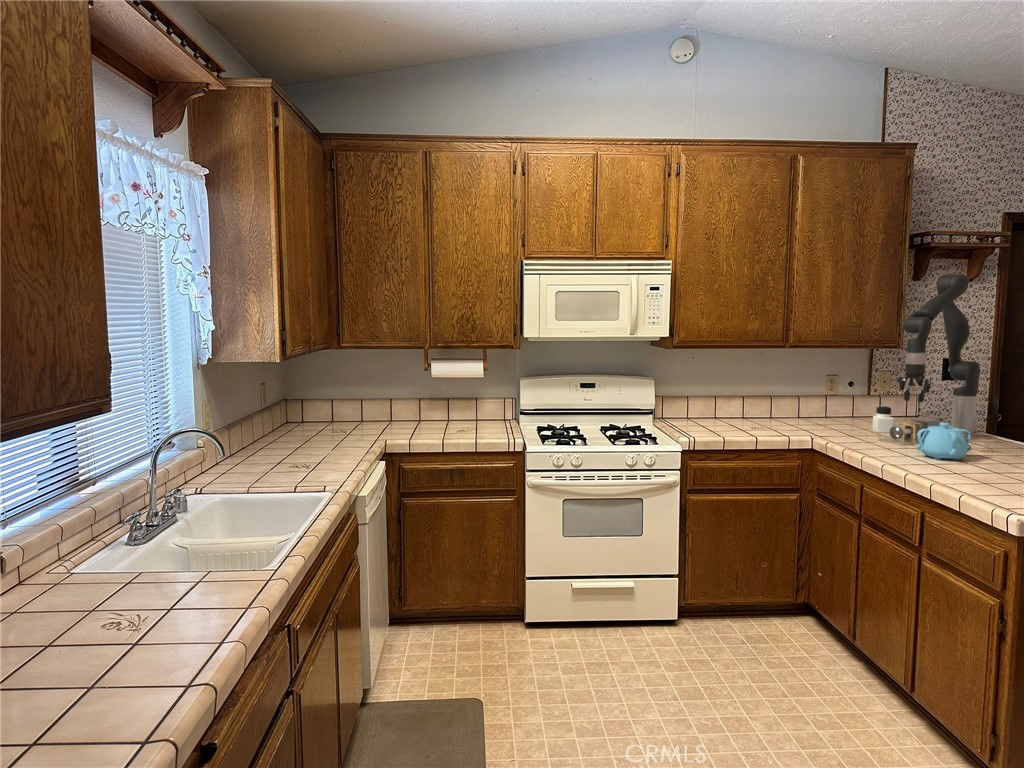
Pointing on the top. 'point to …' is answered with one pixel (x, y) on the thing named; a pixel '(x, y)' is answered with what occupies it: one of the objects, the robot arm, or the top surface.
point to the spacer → (916, 428)
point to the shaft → (900, 432)
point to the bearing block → (909, 440)
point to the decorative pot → (944, 442)
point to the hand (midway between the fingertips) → (913, 401)
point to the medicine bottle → (883, 420)
